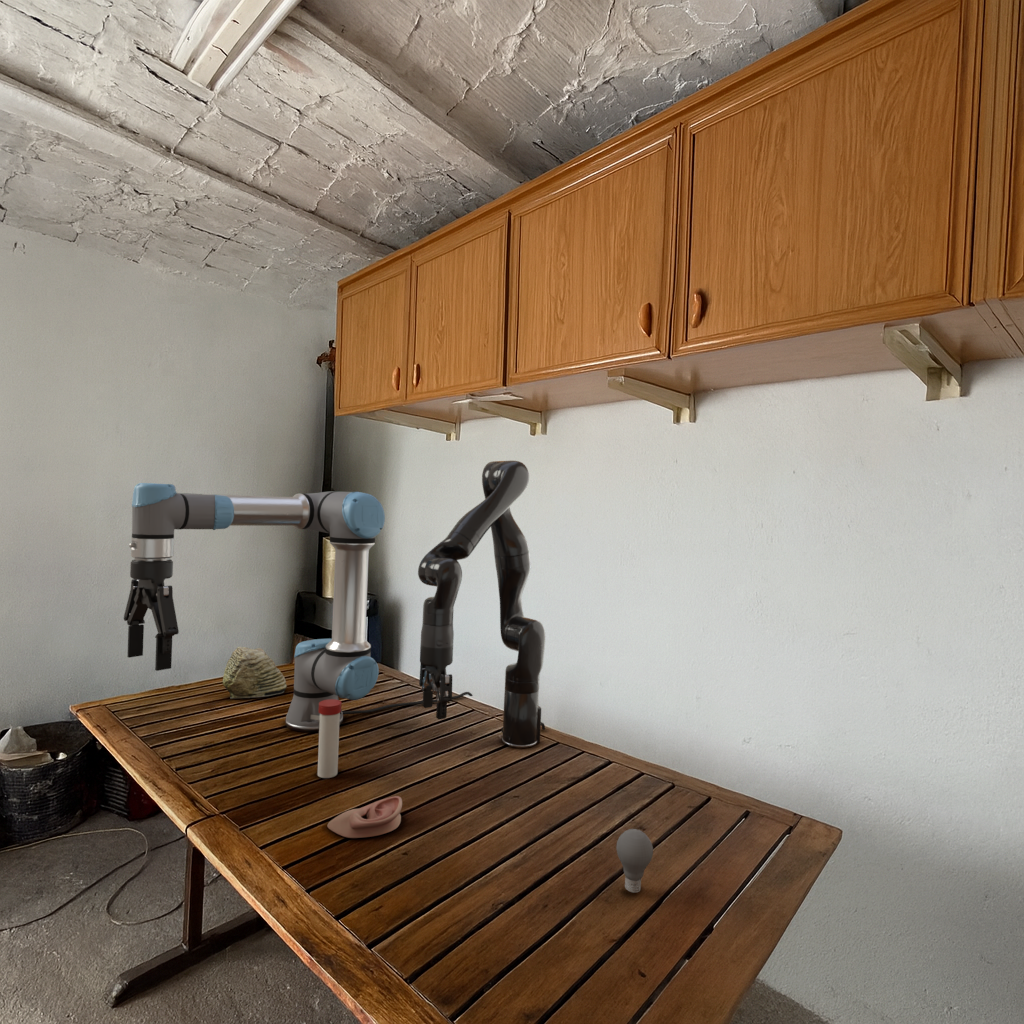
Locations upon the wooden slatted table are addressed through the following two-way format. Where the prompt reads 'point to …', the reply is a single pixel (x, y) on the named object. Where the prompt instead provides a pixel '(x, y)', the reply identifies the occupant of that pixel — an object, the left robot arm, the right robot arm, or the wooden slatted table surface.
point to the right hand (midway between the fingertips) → (434, 712)
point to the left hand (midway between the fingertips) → (148, 662)
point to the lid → (330, 707)
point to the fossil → (252, 674)
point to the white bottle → (328, 745)
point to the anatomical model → (369, 819)
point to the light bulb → (634, 857)
